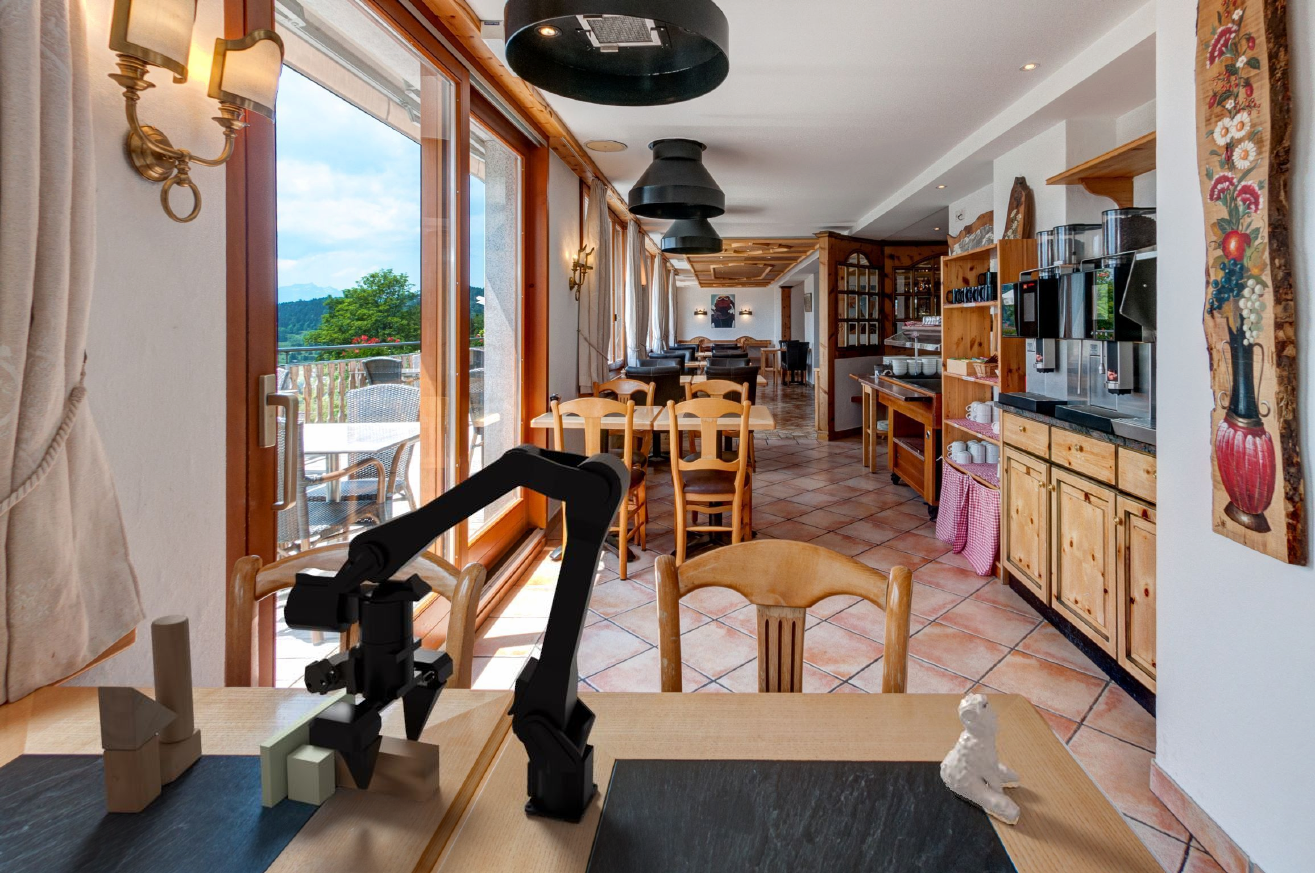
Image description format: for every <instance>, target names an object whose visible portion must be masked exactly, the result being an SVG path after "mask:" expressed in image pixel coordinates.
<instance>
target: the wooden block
mask: <svg viewBox="0 0 1315 873" xmlns="http://www.w3.org/2000/svg"><path fill="white" fill-rule="evenodd" d="M189 621H190V619H189V617H188V616H187V615H184V614H169V615H165V616H161V617H158V618H156V619H154V620H152V622H151V624H150V632H151V635H150V636H151V650H152V651H151V652H152V666H153V667H152V669H153V684H154V697H155V698H154V699H153V698H152V697H149V696H148V695H147V694H145V693H143V692H141V691H140V690H138V689H137V688H135V687H133V686H113V685H112V686H111V685H109V686H107V685H99V686H97V694H98V696H97V697H98V712H99V727H100V740H101V742H100V743H101V749H102V750H103V752H102V755H103V757H102V758H103V767H104V768H103V769H104V771H103V772H104V782H105V798H106V811H107V812H108V813H128V814H129V813H131V814H132V813H135V814H137V813H141V812H142V811H144V809H145V808H147V807H148V806H149V805H150V804H151V803H152V802H154V800H155V799H157V798H158V797H159V796H160V795H161V793H162V786H165V785H168V784H170V783H172V782H174V781H175V780H176V779H177V778H178V777H180V776H181V775H182V774H183V773H184V772H185V771H186V770H188V768H190V767H191V766H192V765H193V764H194V763H195V762H196V761H197V760H198V759H199V758H200V757H201V756H202V754H203V750H202V749H203V748H202V733H201V732H202V730H201V729H200V728H195V713H194V712H195V711H194V710H195V709H194V695H193V677H192V657H191V642H190V641H191V638H190V622H189Z"/></svg>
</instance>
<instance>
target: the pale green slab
mask: <svg viewBox="0 0 1315 873" xmlns="http://www.w3.org/2000/svg"><path fill="white" fill-rule="evenodd" d="M338 701H339V702H344V703H350V704H356V695H350V694H346V688H343V689H340V690H339V691H338V692H336V693H335V694H333V695H332V696H330V697H328V698H327V699H326V700H324V701H322V702H321V703H320V704H318V705H317V706H315V707H314V708H313V709H311V710H310V711H308V712H306V713H305V714H304V715H302V716H300V718H298V719H296V720H295V721H293V722H292V723H290V724H288V725H287V726H286V727H284V728H283V729H282V730H280V731H279V732H277V733H276V734H274V735H273V736H272V737H270V738H268V739H267V740H265V741H264V742H263V743H261V744H260V745H259V752H260V753H259V754H260V755H259V756H260V778H261V779H260V780H261V781H260V782H261V800H262V802H261V805H262V806H263V807H267V808H270V809H271V808H273V807H275V805H277V804H278V803H279V802H280V801H283V799H285V798H286V797H287V796H288V800H292V801H296V802H300V803H301V802H302V803H306V804H311V805H315V806H321V805H322V804H323V803H324V802H325V801H326V800H328V799H329V798H330V797H331V796H332V795H333V794H334V793H335V792H336V786H335V770H334V750H330V749H325V748H320V747H315V746H314V745H309V736H308V724H309V723H310V722H311V721H312V720H313V719H314V718H315V717H316V716H318V715H319V714H320V713H322V712H323V711H325V710H326V709H328V708H329V707H330V706H332V705H333V704H335V703H336V702H338ZM356 705H357V704H356ZM378 735H380V733H379V734H378Z"/></svg>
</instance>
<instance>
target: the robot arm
mask: <svg viewBox="0 0 1315 873" xmlns="http://www.w3.org/2000/svg"><path fill="white" fill-rule="evenodd" d="M631 477H632V476H631V473H630V470H629V468H628V466H627V465H626V463H625V462H624V461H623V460H622V459H621V458H620V457H618V455H615V454H612V453H609V452H607V453H606V452H601V453H596V454H595V453H594V454H593V455H591V456H589V455H585V454H580V453H576V452H571V451H570V452H569V451H562V450H556V449H548V448H545V447H540V446H536V445H534V444H532V443H522V444H519V445H517V446H515V447H512V448H511V449H507V450H506V451H505V452H504V453H503V454H502V455H501V457H499V458H498V459H496V460H495V461H493V462H491V463H490V464H488V465H486V466H485V467H483V468H482V469H480V470H479V471H477V472H476V473H474V474H473V475H471V476H469V477H468V478H466V479H465V480H463V481H461V482H459V483H458V484H457V485H455V486H453V487H452V488H450V489H448V490H447V491H445V492H443V493H442V494H441V495H439V496H437V497H436V498H434V499H432V500H431V501H430V502H428V503H426V504H424V505H422V506H420V507H418V508H415V509H412V510H409V511H407V512H405V513H402V514H398V515H396V516H394V517H392V518H389V519H387V520H384V521H382V522H380V523H379V524H377V525H375V526H372V527H370V528H368V529H366V530H364V531H362V532H360V533H358V534H356V535H355V536H354V537H353V538H352V539H351V540H350V542H348V543H349V544H348V552H347V559H346V560H345V562H344V563H343V565H341V567H340V568H339V570H338V571H337V570H323V569H319V568H315V567H314V568H313V567H306V568H304V569H301V570H300V571H298V572H296V573H295V574H294V578H295V580H294V581H295V582H294V584H293V586H292V587H291V589H290V591H289V593H288V594H287V595H288V596H287V599H286V604H285V605H284V607H283V617H284V618H283V619H284V621H285V624H286V626H287V627H288V628H289V629H290V630H295V631H308V632H323V633H334V634H335V633H336V634H344V633H346V632H348V631H349V629H350V628H351V627H352V626H353V625H355V624H357V623H358V643H356V644H355V645H354V646H352V647H350V649H347V650H345V651H340V652H338V653H335V654H333V655H331V656H330V657H328V658H325V657H324V658H322V659H320V660H317V659H316V660H314V661H312V662H311V663H309V664H307V665H305V667H304V676H303V677H304V678H303V679H304V680H303V682H304V684H305V688H306V689H307V692H308V693H310V694H313V695H314V694H317V693H319V696H324V695H328V693H329V692H334V691H337V690H342V689H343V688H346V694H350V695H355V696H356V695H358V694H361V697H362V698H363V700H362V701H361V702H359V703H357V704H350V703H344V702H339V701H338V702H336V703H335V704H333V705H332V706H330V707H329V708H328V709H326V710H325V711H323V712H322V713H320V714H319V715H318V716H316V717H315V718H314V719H313V720H312V721H311V722H310V723H309V724H308V736H309V745H314V746H319V747H324V748H330V749H335V750H337V751H338V752H339V753H340V755H341V756H342V758H343V759H344V761H345V763H346V765H347V767H348V769H349V771H350V773H351V776H352V778H353V780H354V782H355V784H356V786H357V788H358V789H357V790H362V791H366V790H367V789H368V787H369V785H370V782H371V779H372V775H373V772H374V768H375V764H376V760H377V757H378V753H379V749H380V746H381V742H382V738H383V736H384V735H382V734H380V731H381V729H382V725H383V724H382V722H383V721H382V717H383V716H382V715H381V713H383V712H384V711H385V710H386V709H388V708H389V707H390V706H392V705H393V704H394V703H395V702H397V701H398V700H399V699H400V698H401V701H402V707H403V719H404V720H403V721H404V730H405V736H406V740H412V741H418V742H419V740H420V737H421V735H422V733H423V730H424V728H425V727H426V725H427V722H428V720H429V718H430V716H431V714H432V711H433V710H434V707H435V706H436V704H437V702H438V700H439V698H440V695H441V694H442V692H443V690H444V688H445V686H447V683H448V678H449V679H450V677H451V676H453V675H454V659H453V658H452V657H451V655H449V653H448V652H447V651H442V650H436V649H429V648H422V646H423V645H422V644H423V643H422V640H423V639H422V638H423V637H421V636H420V637H419V636H414V632H415V630H414V629H415V628H414V627H415V626H414V603H418V602H421V600H422V599H424V598H425V597H426V596H427V595H428V594H430V593H431V592H432V591H433V586H432V585H431V584H429V583H428V582H427V581H426V580H423V579H422V578H421V576H420V575H419V574H418V573H417V572H416V573H415V572H414V573H413V574H412V575H410V576H409V577H408V578H406V579H399V578H398V579H395V578H392V577H393V576H396V574H398V573H400V572H401V571H403V570H404V569H406V568H407V567H409V566H410V565H412V564H413V563H414V562H415V561H416V560H417V559H418V558H420V557H421V556H422V555H423V554H424V553H425V552H427V550H428V549H429V548H431V546H433V545H434V544H435V543H436V542H437V540H438V539H439V538H441V537H442V536H443V535H444V534H445V533H446V532H447V531H449V530H450V529H452V528H453V527H455V526H457V525H458V524H460V523H461V522H463V521H465V520H467V519H468V518H469V517H471V516H473V515H474V514H476V513H478V512H479V511H481V510H483V509H485V508H486V507H488V506H489V505H491V504H493V503H494V502H496V501H497V500H498V499H501V498H502V497H504V496H505V495H507V494H508V493H510V492H512V491H513V490H515V489H517V488H518V487H522V488H526V489H529V490H531V491H534V492H536V493H537V494H538V493H539V494H541V495H543V496H544V497H547V498H550V499H552V500H555V501H560V502H564V503H565V504H564V519H565V529H566V532H565V533H566V543H565V546H564V551H563V555H562V560H561V564H560V568H559V572H558V573H559V574H558V575H557V576H558V577H557V581H556V586H555V590H554V594H553V599H552V602H551V607H550V611H549V616H548V620H547V624H546V628H545V631H544V636H543V641H542V645H541V648H540V654H539V657H538V658H539V659H538V658H536V657H534V656H530V657H529V658H528V660H527V662H526V663H525V665H524V667H523V668H522V670H521V671H520V673H519V674H518V676H517V678H515V684H514V689H513V690H514V694H513V695H514V696H513V703H512V705H511V706H510V707H509V710H508V711H507V713H506V714H507V716H509V717H510V716H512V719H511V730H512V733H513V734H514V735H515V736H516V737H517V739H518V740H519V741H520V742H521V744H523V746H524V749H525V752H526V754H527V757H528V761H527V763H526V795H527V797H528V798H529V800H528V801H527V802H526V804H525V805H524V813H527V814H529V815H535V816H540V817H545V818H550V819H555V820H559V821H565V822H570V823H575V824H577V823H581V821H582V819H583V818H584V816H585V814H586V812H587V811H588V809H589V807H590V805H591V803H592V801H593V799H594V797H595V796H596V794H597V792H598V789H599V785H598V784H597V783H595V782H594V762H595V761H594V760H595V759H594V754H595V752H594V751H595V745H594V744H589V743H588V740H589V737H590V736H591V735H590V734H591V733H592V729H593V726H594V723H595V720H596V717H597V716H596V713H595V712H594V711H593V710H591V709H590V708H589V706H588V705H587V704H586V703H585V702H584V701H583V700H582V699H581V698H580V697H579V696H578V693H579V692H578V691H579V669H578V668H579V667H578V653H579V649H580V645H581V639H582V636H583V632H584V628H585V624H586V620H587V616H588V611H589V606H590V603H591V599H592V596H593V590H594V587H595V582H596V578H597V574H598V569H599V566H600V565H599V564H600V561H601V559H602V558H601V557H602V553H603V549H604V545H605V540H606V539H607V537H608V535H609V533H610V531H611V528H612V526H613V524H614V522H615V520H616V517H617V515H618V513H619V511H620V509H621V507H622V504H623V503H624V500H625V499H626V495H627V493H628V491H629V488H630V486H631V479H632V478H631ZM365 582H369V583H371V584H369V583H365ZM378 734H379V735H378Z"/></svg>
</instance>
